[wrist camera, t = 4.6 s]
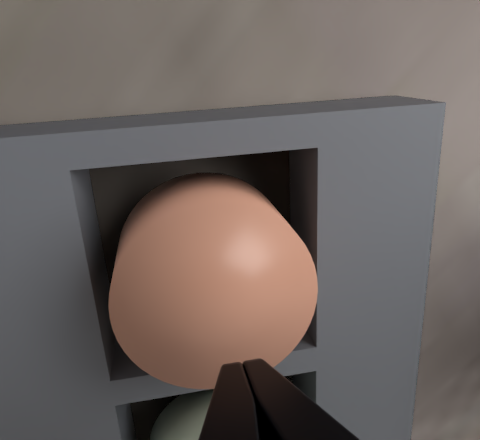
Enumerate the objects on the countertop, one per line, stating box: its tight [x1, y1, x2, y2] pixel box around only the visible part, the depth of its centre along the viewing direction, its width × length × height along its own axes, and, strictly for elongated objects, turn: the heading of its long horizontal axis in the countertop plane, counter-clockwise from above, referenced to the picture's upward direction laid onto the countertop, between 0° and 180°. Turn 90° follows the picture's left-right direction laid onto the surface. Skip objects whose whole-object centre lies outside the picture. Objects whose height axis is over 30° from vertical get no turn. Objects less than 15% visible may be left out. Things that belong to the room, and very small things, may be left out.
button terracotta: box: [108, 173, 318, 389], centre depth 13 cm, size 6×6×3 cm
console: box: [0, 96, 446, 440], centre depth 18 cm, size 15×25×3 cm, turn 3°
